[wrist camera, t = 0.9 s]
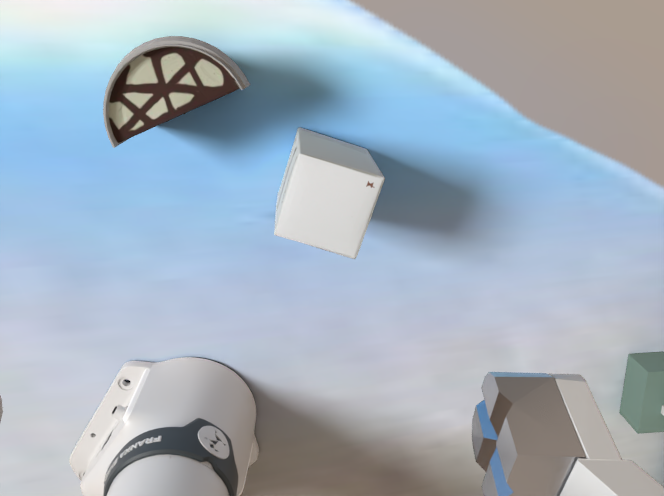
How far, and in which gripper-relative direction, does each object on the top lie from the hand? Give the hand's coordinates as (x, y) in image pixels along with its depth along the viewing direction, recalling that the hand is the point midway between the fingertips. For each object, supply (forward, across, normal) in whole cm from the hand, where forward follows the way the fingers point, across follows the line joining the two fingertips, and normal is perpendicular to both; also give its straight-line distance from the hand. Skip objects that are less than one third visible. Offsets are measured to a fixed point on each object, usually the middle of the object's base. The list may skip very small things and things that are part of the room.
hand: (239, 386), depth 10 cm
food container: (+48, -12, -13) cm, 51 cm away
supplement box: (+46, +2, -21) cm, 51 cm away
